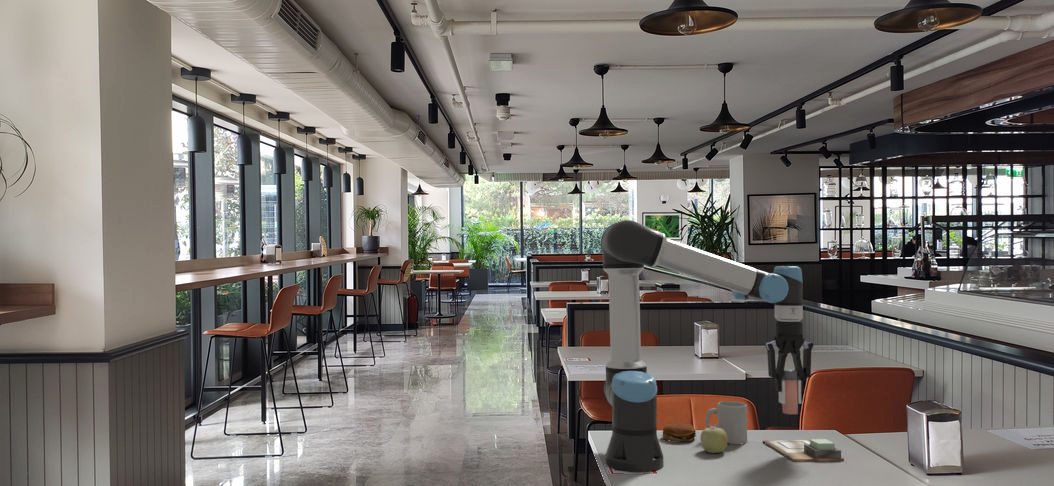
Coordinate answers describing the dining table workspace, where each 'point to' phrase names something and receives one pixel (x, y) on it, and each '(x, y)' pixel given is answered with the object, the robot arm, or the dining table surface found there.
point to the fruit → (714, 439)
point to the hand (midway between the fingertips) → (789, 402)
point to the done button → (822, 444)
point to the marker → (790, 392)
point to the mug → (731, 420)
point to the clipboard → (803, 451)
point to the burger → (679, 432)
